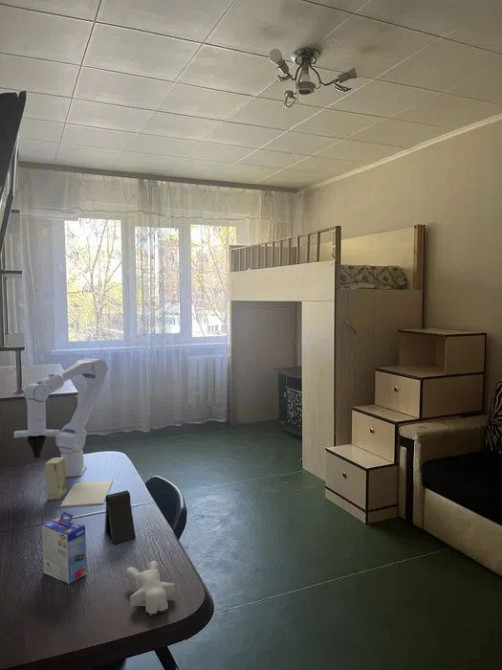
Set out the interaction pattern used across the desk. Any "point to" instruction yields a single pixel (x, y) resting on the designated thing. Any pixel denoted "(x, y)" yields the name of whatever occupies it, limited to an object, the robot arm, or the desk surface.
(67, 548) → the ink cartridge box
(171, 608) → the desk surface
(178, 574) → the desk surface
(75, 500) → the mat
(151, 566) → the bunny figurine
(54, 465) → the skincare box
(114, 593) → the desk surface
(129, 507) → the phone stand
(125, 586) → the desk surface
